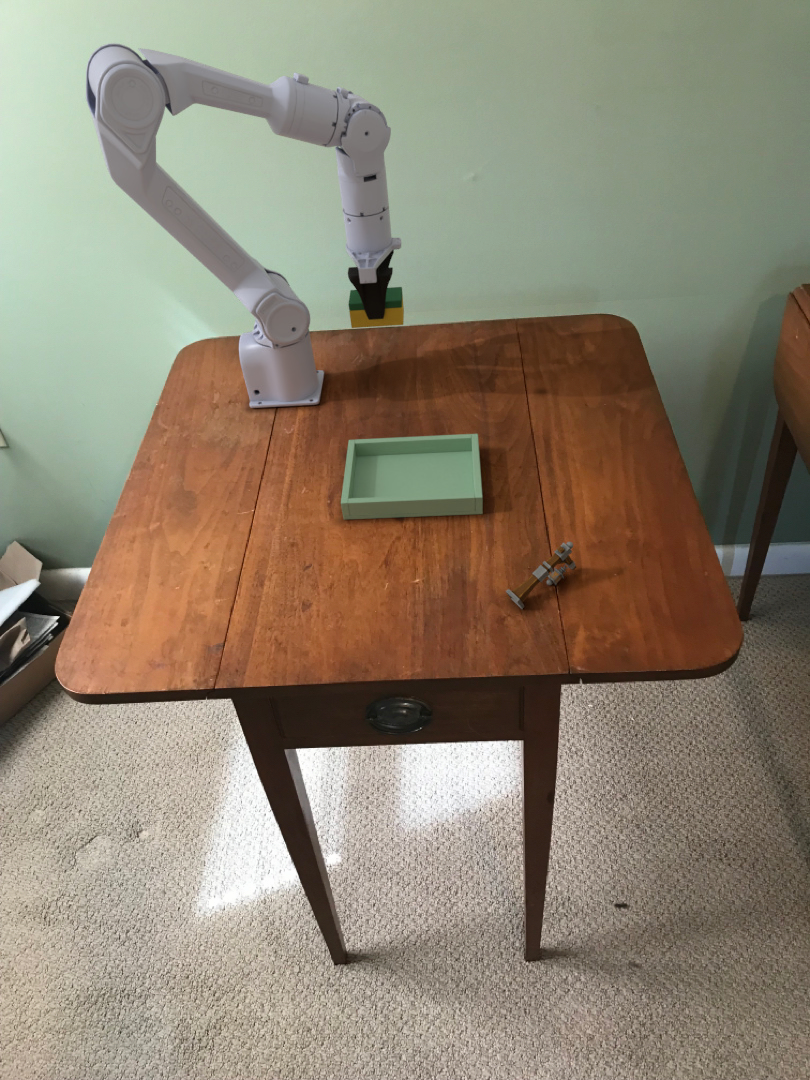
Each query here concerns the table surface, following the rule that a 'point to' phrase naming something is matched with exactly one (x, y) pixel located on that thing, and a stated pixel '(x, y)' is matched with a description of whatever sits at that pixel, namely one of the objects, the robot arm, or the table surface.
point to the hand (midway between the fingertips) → (376, 309)
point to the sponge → (392, 310)
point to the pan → (412, 477)
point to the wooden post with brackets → (544, 573)
